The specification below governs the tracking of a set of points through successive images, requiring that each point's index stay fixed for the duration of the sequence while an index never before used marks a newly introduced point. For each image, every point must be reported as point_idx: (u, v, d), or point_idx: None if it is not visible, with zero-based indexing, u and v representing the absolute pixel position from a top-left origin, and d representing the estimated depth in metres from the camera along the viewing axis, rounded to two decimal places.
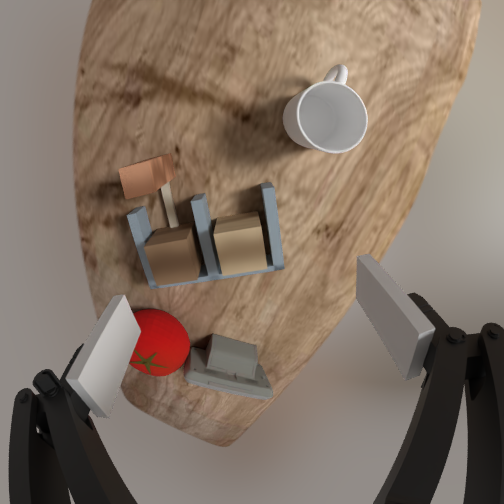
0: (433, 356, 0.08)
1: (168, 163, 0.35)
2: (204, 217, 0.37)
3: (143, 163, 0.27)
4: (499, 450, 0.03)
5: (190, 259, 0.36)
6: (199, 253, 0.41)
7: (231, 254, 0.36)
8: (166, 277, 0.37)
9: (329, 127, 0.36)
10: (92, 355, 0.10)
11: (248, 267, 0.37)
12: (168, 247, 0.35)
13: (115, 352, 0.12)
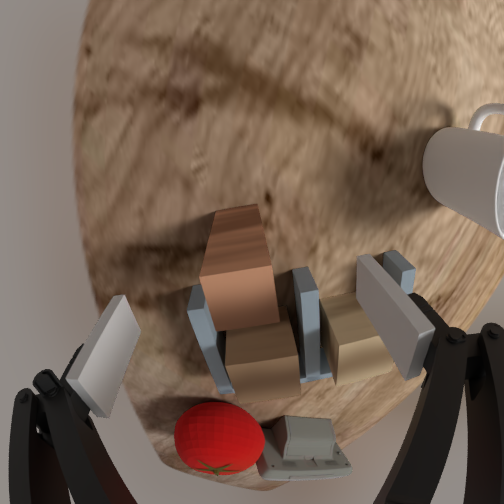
0: (433, 356, 0.08)
1: None
2: (317, 313, 0.23)
3: (262, 269, 0.13)
4: (499, 450, 0.03)
5: (297, 376, 0.22)
6: None
7: (354, 364, 0.23)
8: (256, 396, 0.23)
9: None
10: (92, 355, 0.10)
11: (370, 374, 0.23)
12: (267, 366, 0.22)
13: (115, 352, 0.12)
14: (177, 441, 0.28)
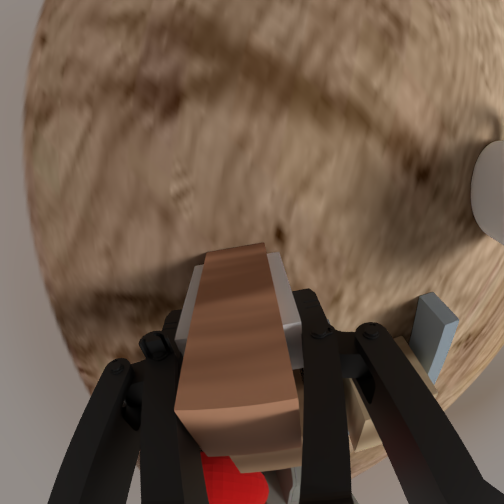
0: None
1: None
2: None
3: (281, 403, 0.07)
4: (418, 451, 0.05)
5: None
6: None
7: None
8: (261, 467, 0.17)
9: None
10: None
11: None
12: None
13: None
14: None
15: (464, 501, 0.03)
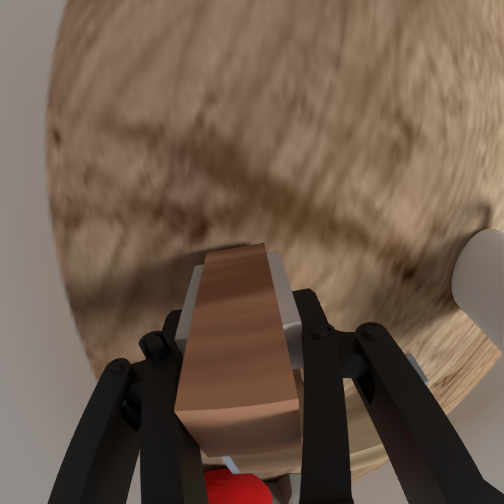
0: None
1: None
2: None
3: (282, 404, 0.07)
4: (418, 451, 0.05)
5: None
6: None
7: (360, 460, 0.20)
8: (261, 467, 0.17)
9: None
10: None
11: (373, 462, 0.20)
12: None
13: None
14: None
15: (464, 501, 0.03)
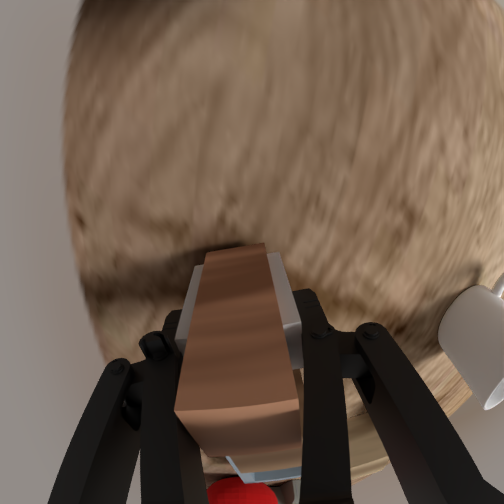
0: None
1: None
2: None
3: (282, 404, 0.07)
4: (418, 451, 0.05)
5: None
6: None
7: (353, 473, 0.23)
8: (261, 467, 0.17)
9: None
10: None
11: (365, 474, 0.23)
12: None
13: None
14: None
15: (464, 501, 0.03)
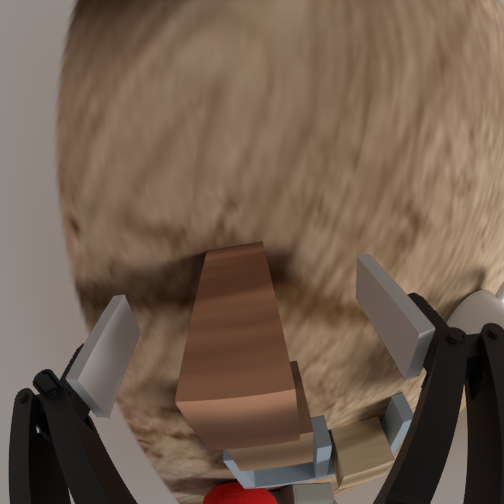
0: (433, 356, 0.08)
1: None
2: (329, 454, 0.23)
3: (279, 394, 0.07)
4: (499, 450, 0.03)
5: (311, 448, 0.16)
6: None
7: (354, 479, 0.22)
8: (260, 465, 0.17)
9: None
10: (92, 355, 0.10)
11: (366, 480, 0.23)
12: None
13: (115, 352, 0.12)
14: None
15: None
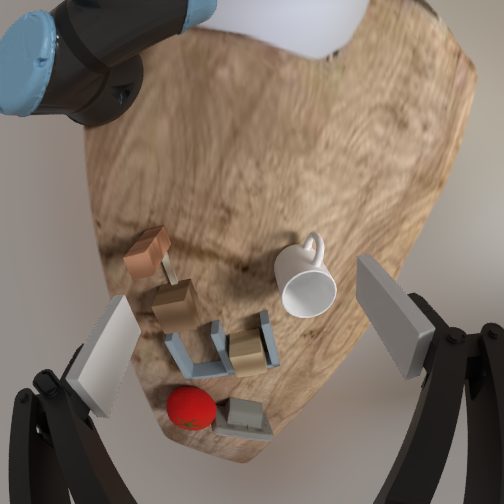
0: (433, 356, 0.08)
1: (163, 237, 0.43)
2: (221, 342, 0.50)
3: (142, 253, 0.35)
4: (499, 450, 0.03)
5: (189, 314, 0.44)
6: (197, 304, 0.49)
7: (242, 367, 0.49)
8: (171, 328, 0.45)
9: None
10: (92, 355, 0.10)
11: (254, 372, 0.50)
12: (171, 307, 0.43)
13: (115, 352, 0.12)
14: (167, 408, 0.55)
15: None
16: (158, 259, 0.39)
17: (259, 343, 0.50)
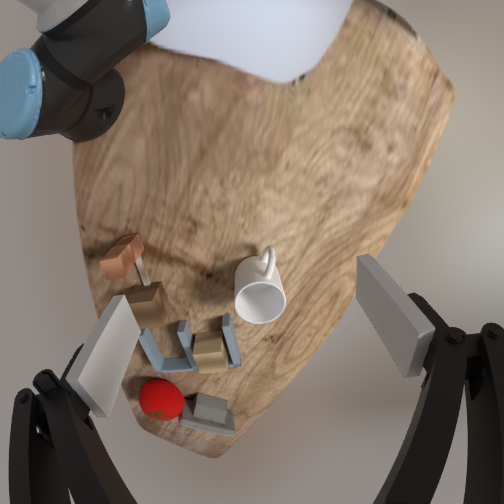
0: (433, 356, 0.08)
1: (136, 243, 0.47)
2: (186, 340, 0.55)
3: (115, 258, 0.39)
4: (499, 450, 0.03)
5: (156, 313, 0.48)
6: (166, 304, 0.54)
7: (204, 364, 0.54)
8: (141, 324, 0.49)
9: None
10: (92, 355, 0.10)
11: (215, 370, 0.55)
12: (141, 305, 0.47)
13: (115, 352, 0.12)
14: (139, 397, 0.59)
15: None
16: (130, 263, 0.43)
17: (220, 343, 0.55)
